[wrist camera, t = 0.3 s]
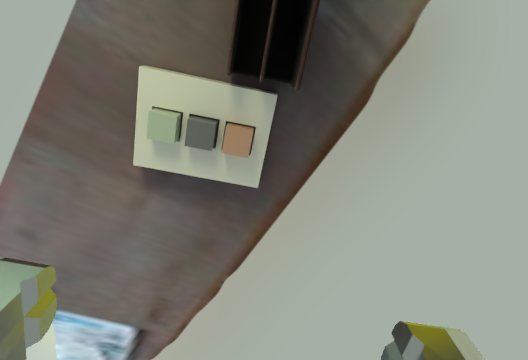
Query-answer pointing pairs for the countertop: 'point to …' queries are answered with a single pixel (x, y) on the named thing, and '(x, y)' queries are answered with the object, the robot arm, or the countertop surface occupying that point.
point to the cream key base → (207, 106)
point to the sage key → (163, 125)
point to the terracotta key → (237, 140)
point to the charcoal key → (201, 133)
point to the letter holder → (272, 39)
